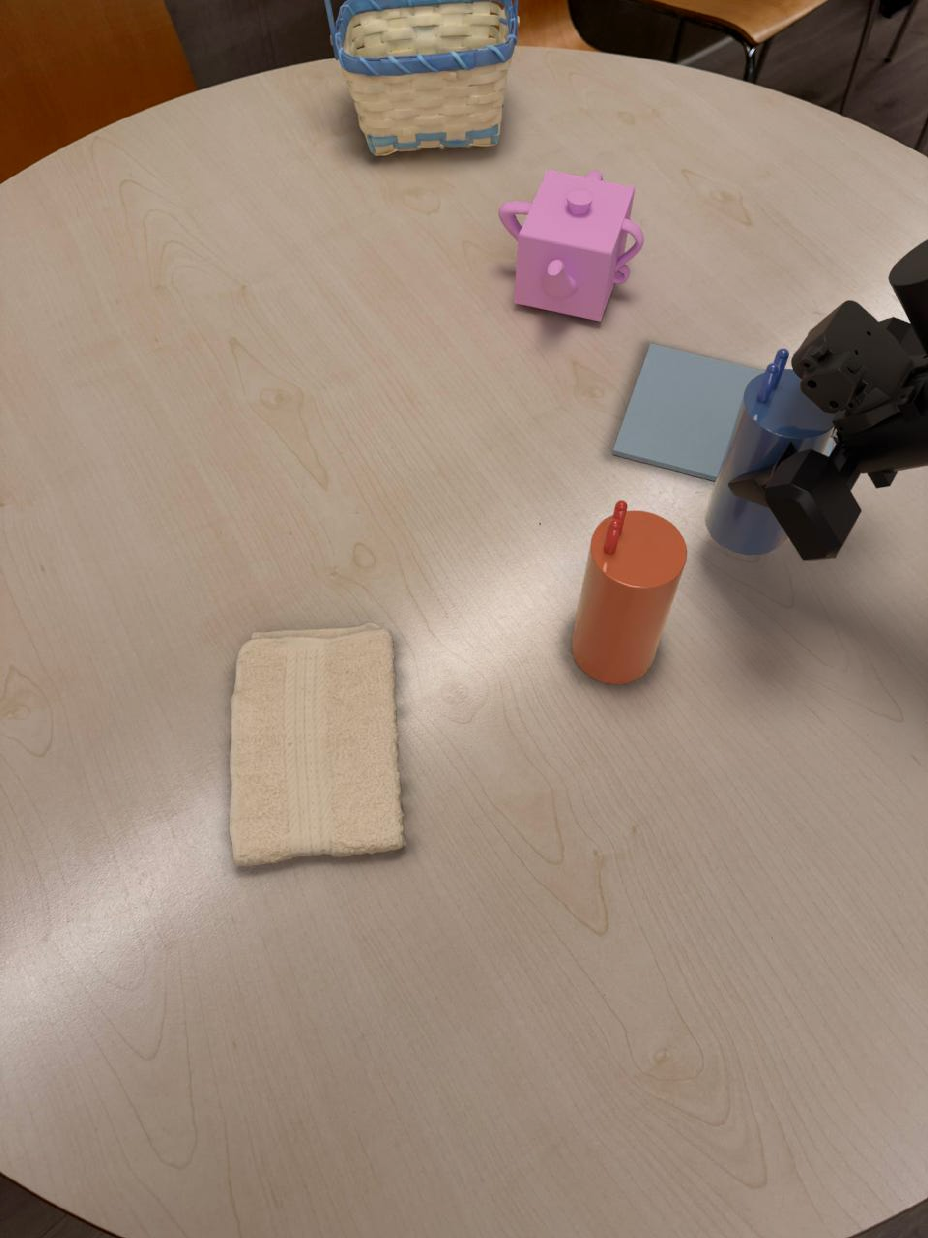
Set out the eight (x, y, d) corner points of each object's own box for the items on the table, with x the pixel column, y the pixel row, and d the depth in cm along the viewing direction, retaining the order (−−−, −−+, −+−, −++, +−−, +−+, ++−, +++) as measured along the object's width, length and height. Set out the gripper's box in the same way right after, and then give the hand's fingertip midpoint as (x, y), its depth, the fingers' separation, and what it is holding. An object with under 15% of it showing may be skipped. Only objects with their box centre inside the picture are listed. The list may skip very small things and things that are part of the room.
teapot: (610, 367, 95) (626, 278, 86) (467, 335, 97) (468, 245, 88) (649, 247, 104) (667, 155, 96) (518, 219, 106) (524, 128, 98)
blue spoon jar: (801, 513, 80) (871, 358, 66) (767, 569, 77) (833, 419, 63) (726, 478, 82) (779, 320, 68) (690, 532, 79) (738, 378, 65)
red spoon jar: (662, 626, 80) (706, 495, 66) (643, 694, 77) (685, 571, 63) (583, 603, 81) (610, 469, 67) (561, 670, 78) (584, 543, 64)
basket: (509, 84, 119) (521, -152, 100) (522, 169, 111) (538, -71, 91) (331, 89, 119) (306, -149, 99) (330, 175, 110) (303, -66, 90)
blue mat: (841, 394, 93) (844, 389, 93) (819, 508, 86) (821, 503, 86) (649, 347, 96) (650, 342, 96) (611, 454, 89) (612, 449, 89)
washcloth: (393, 633, 79) (391, 611, 77) (411, 857, 70) (409, 841, 67) (238, 646, 79) (231, 625, 76) (235, 874, 69) (226, 859, 66)
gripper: (960, 214, 63) (751, 292, 75) (844, 400, 54) (631, 453, 67) (1028, 360, 67) (820, 411, 80) (931, 553, 59) (715, 576, 71)
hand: (750, 457), depth 74 cm, fingers closed on blue spoon jar, 6 cm apart
